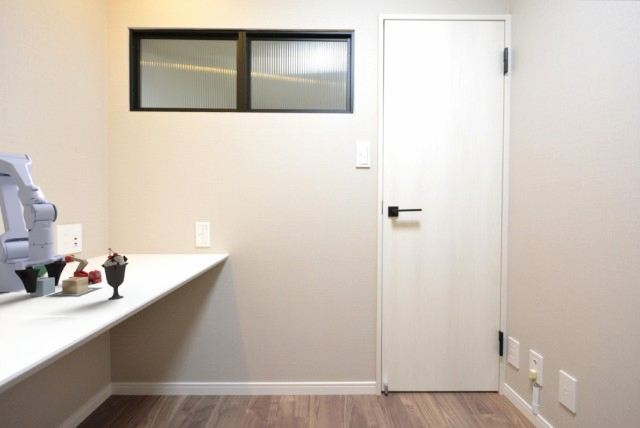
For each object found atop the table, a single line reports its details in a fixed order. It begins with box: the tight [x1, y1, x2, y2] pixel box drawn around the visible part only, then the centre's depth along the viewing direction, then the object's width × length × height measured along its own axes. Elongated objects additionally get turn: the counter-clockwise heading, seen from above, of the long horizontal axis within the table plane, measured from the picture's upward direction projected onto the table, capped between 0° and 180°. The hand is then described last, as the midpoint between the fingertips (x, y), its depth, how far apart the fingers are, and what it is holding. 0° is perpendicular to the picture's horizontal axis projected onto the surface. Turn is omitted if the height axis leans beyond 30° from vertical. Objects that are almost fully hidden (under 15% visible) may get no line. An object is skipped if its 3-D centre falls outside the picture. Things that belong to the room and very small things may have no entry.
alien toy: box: [34, 262, 47, 278], centre depth 121 cm, size 7×8×10 cm
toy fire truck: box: [62, 254, 103, 285], centre depth 110 cm, size 3×14×10 cm, turn 84°
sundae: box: [100, 247, 129, 301], centre depth 92 cm, size 7×7×15 cm
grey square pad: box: [44, 287, 102, 298], centre depth 98 cm, size 10×10×1 cm
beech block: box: [61, 276, 89, 294], centre depth 98 cm, size 4×4×4 cm
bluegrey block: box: [29, 276, 56, 297], centre depth 96 cm, size 4×4×5 cm
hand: (42, 289), depth 96 cm, fingers open, 7 cm apart
